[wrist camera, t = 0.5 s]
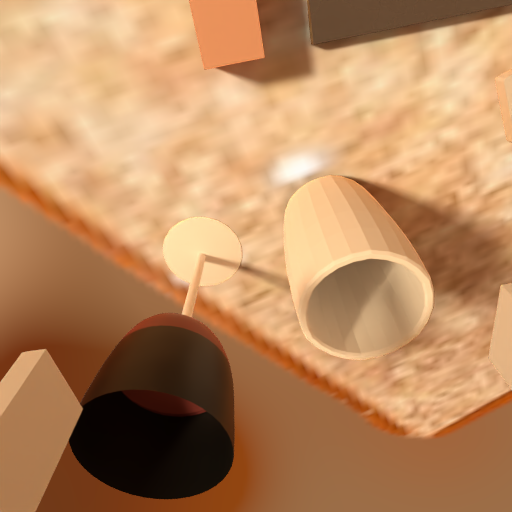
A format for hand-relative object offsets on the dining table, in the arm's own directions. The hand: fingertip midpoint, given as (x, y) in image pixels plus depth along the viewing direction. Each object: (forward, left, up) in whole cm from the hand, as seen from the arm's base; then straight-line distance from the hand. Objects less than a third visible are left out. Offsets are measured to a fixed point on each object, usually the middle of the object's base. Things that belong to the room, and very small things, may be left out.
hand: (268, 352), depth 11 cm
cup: (+6, +5, -23) cm, 25 cm away
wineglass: (+8, -7, -23) cm, 26 cm away
